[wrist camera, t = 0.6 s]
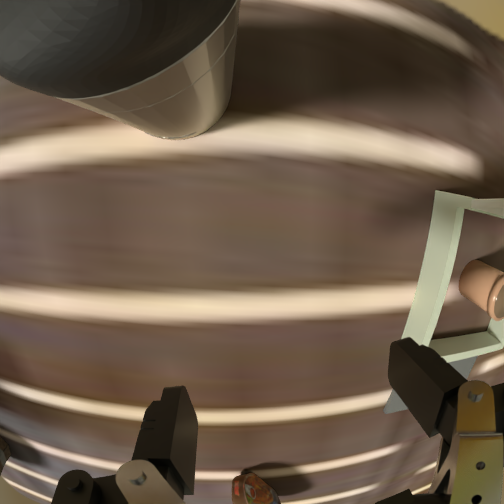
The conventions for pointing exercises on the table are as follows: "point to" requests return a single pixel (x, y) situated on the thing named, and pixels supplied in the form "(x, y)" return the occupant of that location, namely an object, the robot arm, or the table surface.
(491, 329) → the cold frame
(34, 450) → the table surface
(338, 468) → the table surface
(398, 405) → the slate mat
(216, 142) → the table surface
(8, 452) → the mug
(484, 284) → the pot
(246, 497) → the tin
